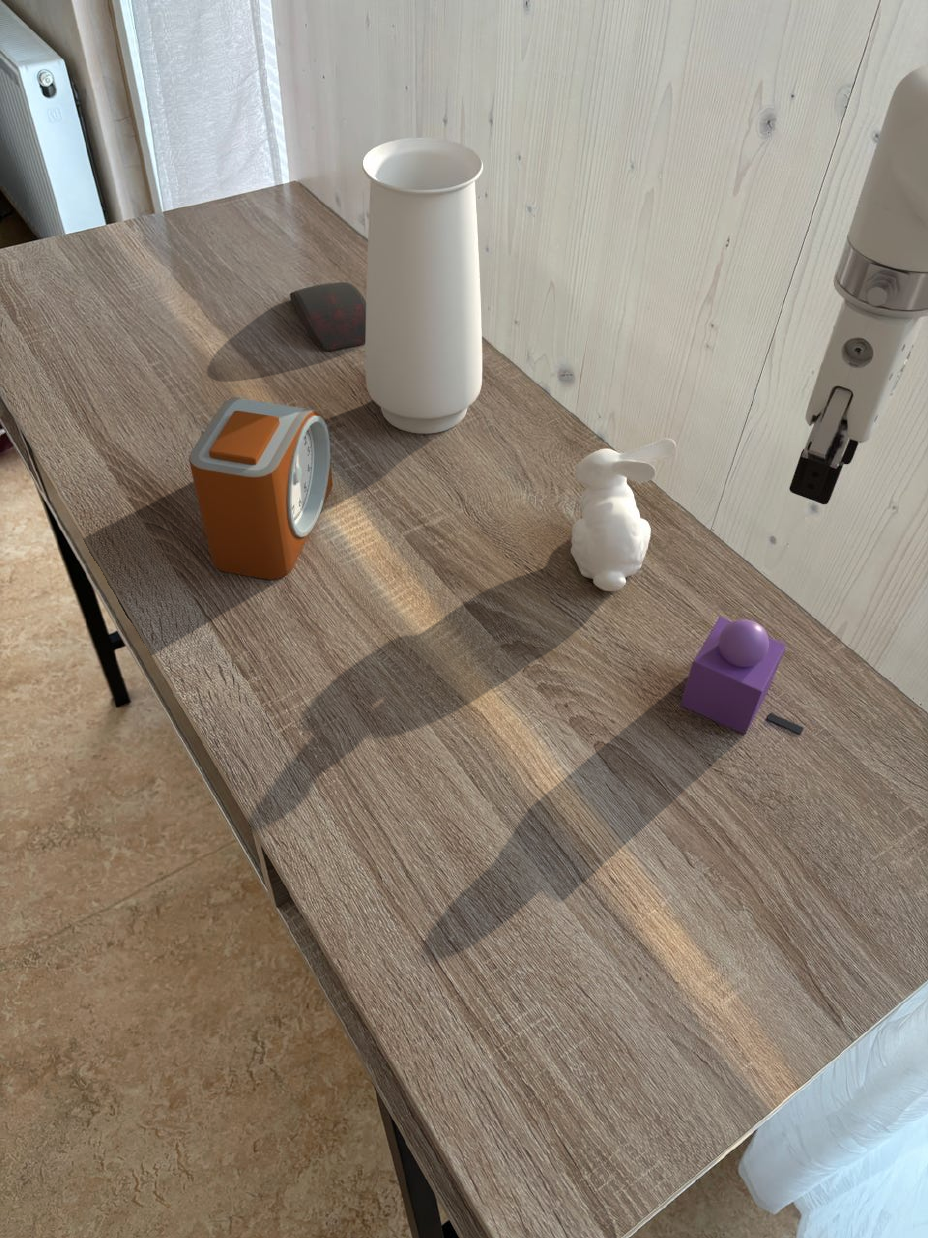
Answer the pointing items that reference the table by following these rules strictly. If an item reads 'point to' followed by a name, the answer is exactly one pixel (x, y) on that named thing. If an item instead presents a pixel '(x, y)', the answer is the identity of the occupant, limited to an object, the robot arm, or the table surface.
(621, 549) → the rabbit
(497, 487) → the table surface
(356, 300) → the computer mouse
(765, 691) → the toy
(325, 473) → the alarm clock
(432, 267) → the vase
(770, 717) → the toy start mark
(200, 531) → the table surface
